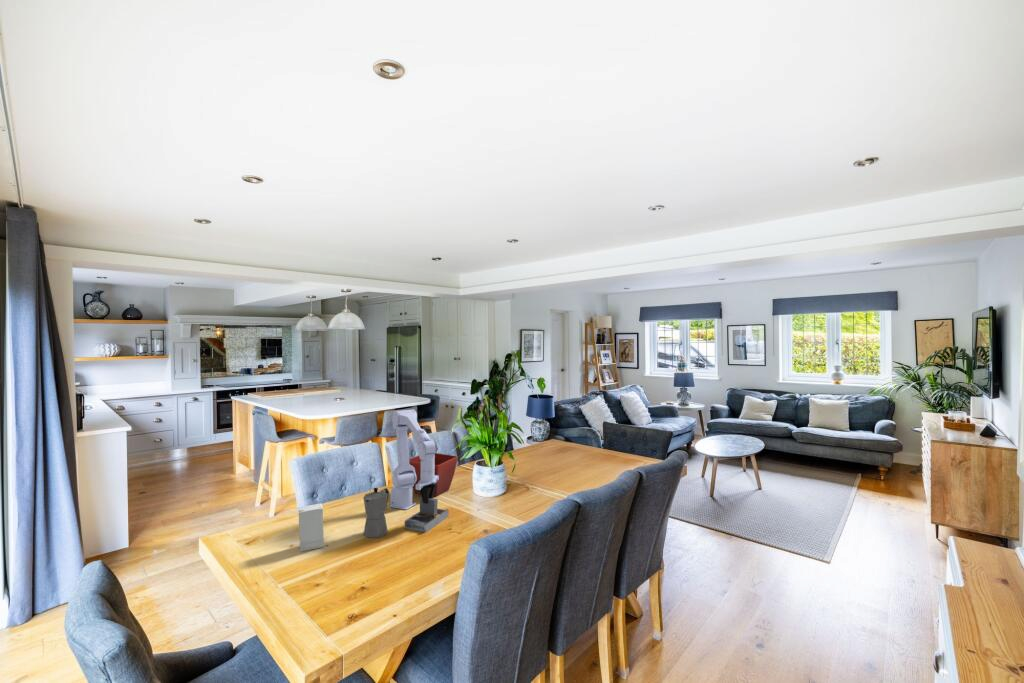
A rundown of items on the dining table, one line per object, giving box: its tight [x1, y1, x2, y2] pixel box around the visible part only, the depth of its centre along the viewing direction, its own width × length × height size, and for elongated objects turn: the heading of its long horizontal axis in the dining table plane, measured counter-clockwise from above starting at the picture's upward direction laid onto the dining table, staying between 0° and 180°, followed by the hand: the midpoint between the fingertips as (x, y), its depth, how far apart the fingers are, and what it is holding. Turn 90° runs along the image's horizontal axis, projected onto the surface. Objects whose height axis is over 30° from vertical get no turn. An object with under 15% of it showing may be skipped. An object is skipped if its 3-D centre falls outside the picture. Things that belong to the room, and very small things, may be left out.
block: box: [419, 497, 439, 515], centre depth 193 cm, size 7×2×6 cm, turn 68°
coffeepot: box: [363, 487, 390, 539], centre depth 183 cm, size 15×9×18 cm, turn 162°
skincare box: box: [298, 503, 325, 552], centre depth 170 cm, size 8×6×15 cm
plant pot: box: [409, 452, 458, 498], centre depth 232 cm, size 19×19×17 cm
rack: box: [404, 508, 450, 534], centre depth 193 cm, size 10×18×4 cm, turn 158°
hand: (427, 501), depth 193 cm, fingers closed on block, 2 cm apart
